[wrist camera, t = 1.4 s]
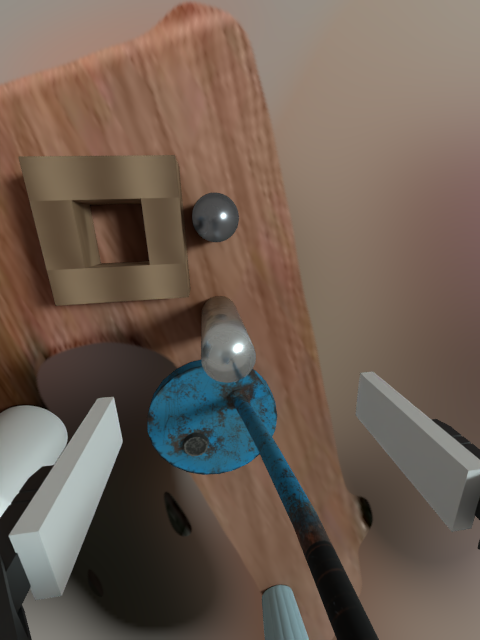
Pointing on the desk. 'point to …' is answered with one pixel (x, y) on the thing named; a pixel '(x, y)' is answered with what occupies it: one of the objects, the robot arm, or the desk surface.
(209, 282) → the desk surface
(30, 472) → the beverage can
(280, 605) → the cup
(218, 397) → the desk lamp
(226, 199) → the stub pin
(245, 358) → the tall pin
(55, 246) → the tan square frame
